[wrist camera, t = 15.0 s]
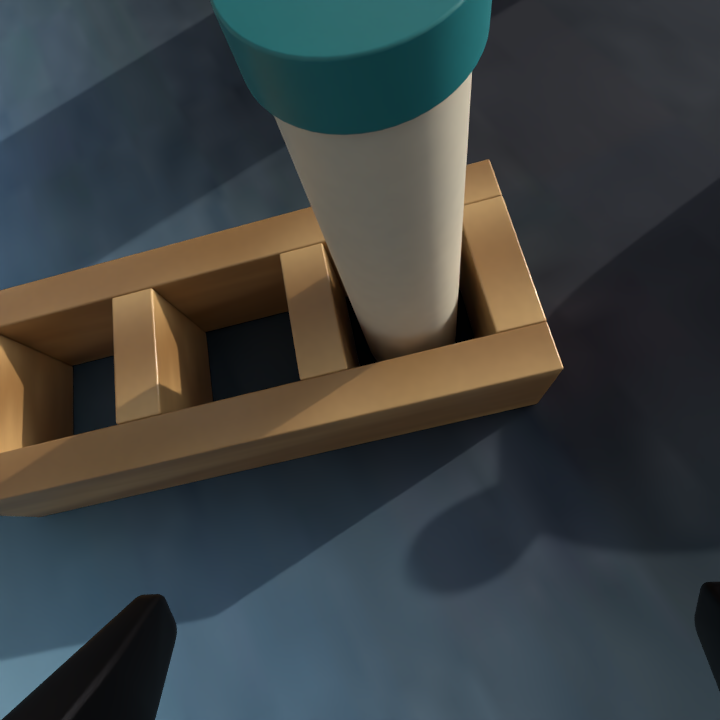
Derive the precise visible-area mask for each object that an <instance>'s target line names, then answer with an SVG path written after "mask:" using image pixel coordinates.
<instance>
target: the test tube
mask: <svg viewBox="0 0 720 720" xmlns="http://www.w3.org/2000/svg"><path fill="white" fill-rule="evenodd" d="M210 2H211V5H212V8H213V11H214V13H215V15H216V18H217V20H218V22H219V24H220V27H221V29H222V31H223V33H224V36H225V38H226V40H227V42H228V45H229V47H230V49H231V51H232V54H233V56H234V58H235V60H236V63H237V65H238V67H239V69H240V72H241V74H242V76H243V78H244V81H245V83H246V85H247V87H248V88H249V90H250V92H251V94H252V95H253V96H254V98H255V99H256V100H257V101H258V102H259V104H260V105H261V106H263V107H264V108H265V109H266V110H267V111H268V112H270V113H271V114H272V115H274V117H275V119H276V122H277V124H278V126H279V129H280V131H281V134H282V136H283V139H284V141H285V144H286V146H287V148H288V151H289V153H290V156H291V158H292V161H293V163H294V165H295V168H296V170H297V173H298V175H299V178H300V180H301V183H302V185H303V187H304V190H305V192H306V195H307V197H308V200H309V202H310V204H311V207H312V209H313V212H314V214H315V217H316V219H317V222H318V224H319V226H320V229H321V231H322V234H323V236H324V239H325V241H326V243H327V246H328V248H329V251H330V253H331V256H332V258H333V261H334V263H335V265H336V268H337V270H338V273H339V275H340V278H341V280H342V283H343V285H344V287H345V290H346V292H347V295H348V297H349V300H350V302H351V304H352V307H353V309H354V312H355V314H356V317H357V319H358V322H359V324H360V326H361V329H362V331H363V334H364V336H365V339H366V341H367V343H368V346H369V348H370V351H371V353H372V355H373V356H374V358H375V359H376V360H377V361H378V362H381V361H385V360H389V359H393V358H397V357H401V356H405V355H410V354H414V353H418V352H422V351H426V350H430V349H435V348H439V347H443V346H447V345H451V344H454V343H455V338H456V325H457V308H458V292H459V275H460V259H461V243H462V226H463V210H464V193H465V177H466V161H467V144H468V128H469V111H470V95H471V79H472V70H473V69H474V68H475V66H476V64H477V63H478V61H479V59H480V57H481V55H482V53H483V51H484V48H485V45H486V41H487V38H488V33H489V26H490V16H491V5H492V0H210Z"/></svg>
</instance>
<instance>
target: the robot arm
mask: <svg viewBox="0 0 720 720" xmlns="http://www.w3.org/2000/svg"><path fill="white" fill-rule="evenodd" d="M695 627H696V631H697V634H698V637H699V639H700V642H701V644H702V647H703V650H704V652H705V655H706V657H707V660H708V662H709V665H710V668H711V670H712V673H713V675H714V678H715V680H716V683H717V686H718V688H719V691H720V582H706V583H704V584H703V585H702V586H701V589H700V594H699V598H698V603H697V607H696V612H695ZM176 635H177V627H176V623H175V620H174V618H173V615H172V613H171V611H170V608H169V606H168V604H167V601H166V599H165V597H164V596H162V595H160V594H147V595H141V596H138V597H137V598H135V599H134V600H133V601H132V602H131V603H130V604H129V605H128V606H126V607H125V608H124V609H123V610H122V611H121V612H120V613H119V614H118V615H117V616H115V617H114V618H113V619H112V620H111V621H110V622H109V623H108V624H107V625H106V626H104V627H103V628H102V629H101V630H100V631H99V632H98V633H97V634H96V635H95V636H93V637H92V638H91V639H90V640H89V641H88V642H87V643H86V644H85V645H83V646H82V647H81V648H80V649H79V650H78V651H77V652H76V653H75V654H74V655H72V656H71V657H70V658H69V659H68V660H67V661H66V662H65V663H64V664H63V665H61V666H60V667H59V668H58V669H57V670H56V671H55V672H54V673H53V674H52V675H50V676H49V677H48V678H47V679H46V680H45V681H44V682H43V683H42V684H40V685H39V686H38V687H37V688H36V689H35V690H34V691H33V692H32V693H31V694H29V695H28V696H27V697H26V698H25V699H24V700H23V701H22V702H21V703H20V704H18V705H17V706H16V707H15V708H14V709H13V710H12V711H11V712H10V713H9V714H7V715H6V716H5V717H4V718H3V719H2V720H155V718H156V714H157V710H158V706H159V702H160V698H161V695H162V691H163V687H164V683H165V679H166V675H167V671H168V667H169V664H170V660H171V656H172V652H173V648H174V644H175V640H176Z"/></svg>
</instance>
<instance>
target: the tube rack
mask: <svg viewBox="0 0 720 720" xmlns="http://www.w3.org/2000/svg"><path fill="white" fill-rule="evenodd" d="M459 287H460V291H461V294H462V297H463V301H464V304H465V307H466V311H467V314H468V318H469V321H470V324H471V328H472V331H473V334H474V338H475V339H472V340H468V341H464V342H460V343H455V344H451V345H447V346H443V347H439V348H435V349H430V350H426V351H422V352H418V353H414V354H410V355H405V356H401V357H397V358H393V359H389V360H385V361H381V362H376V363H372V364H368V365H364V366H360V364H359V360H358V355H357V350H356V345H355V340H354V336H353V331H352V326H351V321H350V317H349V312H348V307H347V302H346V298H345V297H347V296H348V295H347V292H346V290H345V287H344V285H343V283H342V280H341V278H340V275H339V273H338V270H337V268H336V265H335V263H334V261H333V258H332V256H331V253H330V251H329V248H328V246H327V243H326V241H325V239H324V236H323V234H322V231H321V229H320V226H319V224H318V222H317V219H316V217H315V214H314V212H313V209H312V207H309V208H305V209H302V210H298V211H294V212H290V213H287V214H283V215H279V216H276V217H272V218H268V219H264V220H261V221H257V222H253V223H249V224H246V225H242V226H238V227H235V228H231V229H227V230H223V231H220V232H216V233H212V234H209V235H205V236H201V237H197V238H194V239H190V240H186V241H183V242H179V243H175V244H171V245H168V246H164V247H160V248H157V249H153V250H149V251H145V252H142V253H138V254H134V255H131V256H127V257H123V258H119V259H116V260H112V261H108V262H104V263H101V264H97V265H93V266H90V267H86V268H82V269H78V270H75V271H71V272H67V273H64V274H60V275H56V276H52V277H49V278H45V279H41V280H38V281H34V282H30V283H26V284H23V285H19V286H15V287H12V288H8V289H4V290H0V516H22V517H42V516H47V515H51V514H55V513H60V512H64V511H69V510H73V509H77V508H82V507H86V506H90V505H95V504H99V503H104V502H108V501H112V500H117V499H121V498H126V497H130V496H134V495H139V494H143V493H148V492H152V491H156V490H161V489H165V488H169V487H174V486H178V485H183V484H187V483H191V482H196V481H200V480H205V479H209V478H213V477H218V476H222V475H226V474H231V473H235V472H240V471H244V470H248V469H253V468H257V467H262V466H266V465H270V464H275V463H279V462H284V461H288V460H292V459H297V458H301V457H305V456H310V455H314V454H319V453H323V452H327V451H332V450H336V449H341V448H345V447H349V446H354V445H358V444H363V443H367V442H371V441H376V440H380V439H384V438H389V437H393V436H398V435H402V434H406V433H411V432H415V431H420V430H424V429H428V428H433V427H437V426H442V425H446V424H450V423H455V422H459V421H463V420H468V419H472V418H477V417H481V416H485V415H490V414H494V413H499V412H503V411H507V410H512V409H516V408H520V407H525V406H529V405H534V404H537V403H538V402H539V401H540V399H541V398H542V397H543V395H544V394H545V393H546V391H547V390H548V388H549V387H550V386H551V384H552V383H553V382H554V380H555V379H556V378H557V376H558V375H559V374H560V372H561V371H562V369H563V365H562V362H561V359H560V356H559V354H558V351H557V348H556V345H555V342H554V340H553V337H552V334H551V331H550V328H549V325H548V323H547V322H546V317H545V314H544V311H543V309H542V306H541V303H540V300H539V297H538V295H537V292H536V289H535V286H534V283H533V280H532V278H531V275H530V272H529V269H528V266H527V264H526V261H525V258H524V255H523V252H522V249H521V247H520V244H519V241H518V238H517V235H516V233H515V230H514V227H513V224H512V221H511V218H510V216H509V213H508V210H507V207H506V204H505V202H504V199H503V197H502V194H501V191H500V188H499V185H498V182H497V179H496V177H495V174H494V171H493V168H492V165H491V163H490V160H484V161H480V162H476V163H473V164H469V165H466V177H465V193H464V210H463V226H462V243H461V259H460V275H459ZM287 311H289V316H290V322H291V328H292V334H293V341H294V347H295V353H296V359H297V365H298V371H299V377H300V380H301V381H297V382H293V383H289V384H285V385H281V386H277V387H273V388H268V389H264V390H260V391H256V392H252V393H248V394H243V395H239V396H235V397H231V398H227V399H223V400H218V401H214V402H213V397H212V387H211V377H210V367H209V358H208V348H207V338H206V333H205V332H208V331H212V330H216V329H220V328H224V327H228V326H232V325H236V324H240V323H244V322H248V321H252V320H256V319H260V318H264V317H267V316H271V315H275V314H279V313H283V312H287ZM113 355H114V376H115V405H116V423H117V424H118V425H115V426H110V427H106V428H102V429H98V430H94V431H90V432H85V433H81V434H77V435H73V367H72V366H74V365H78V364H81V363H85V362H89V361H93V360H97V359H101V358H105V357H109V356H113Z"/></svg>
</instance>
